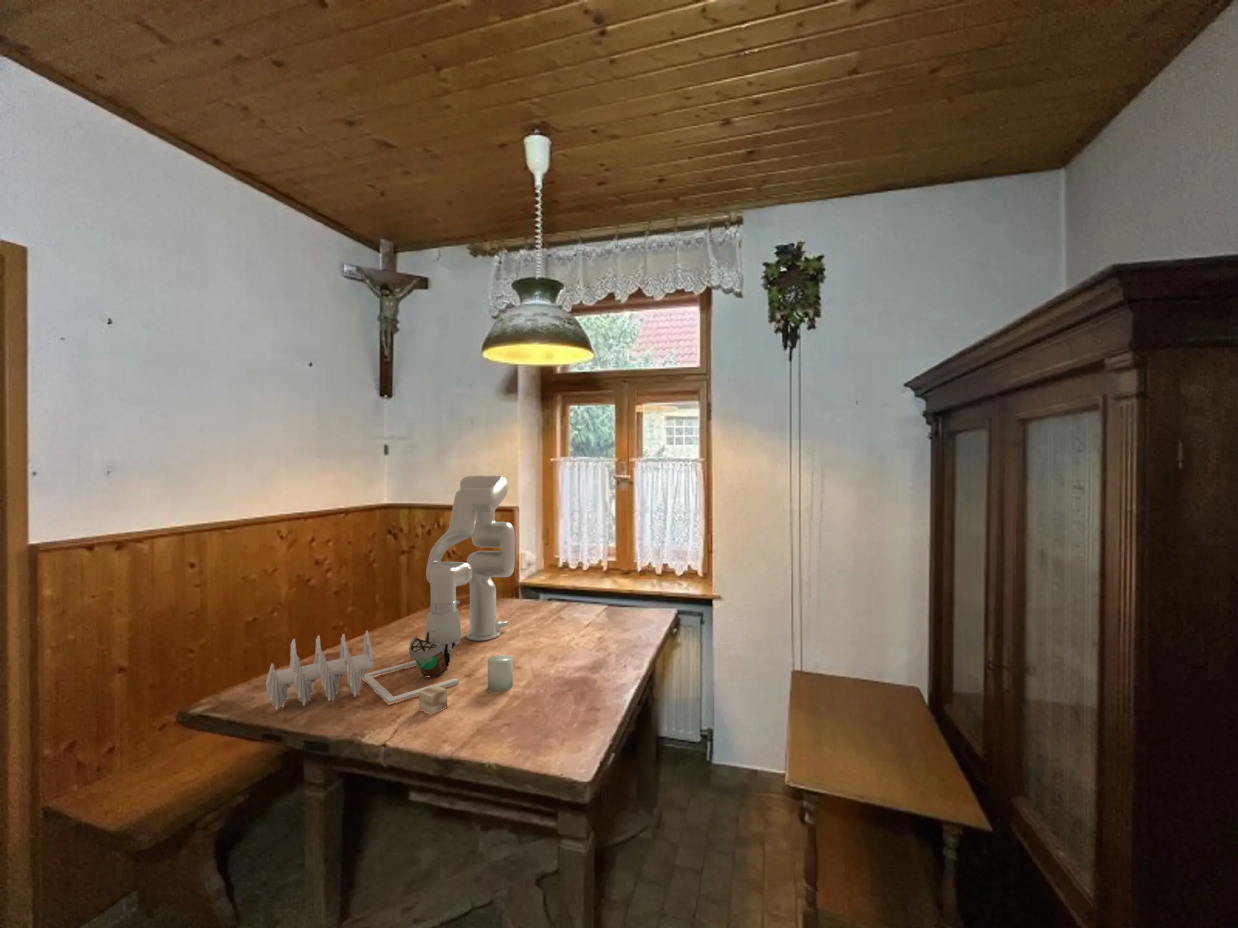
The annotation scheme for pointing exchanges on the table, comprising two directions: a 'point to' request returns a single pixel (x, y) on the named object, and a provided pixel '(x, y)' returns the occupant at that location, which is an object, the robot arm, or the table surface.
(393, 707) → the table surface
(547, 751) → the table surface
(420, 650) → the food container
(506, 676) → the pale green cylinder
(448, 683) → the corral
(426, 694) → the birch block
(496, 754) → the table surface
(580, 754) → the table surface
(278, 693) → the spiral staircase
